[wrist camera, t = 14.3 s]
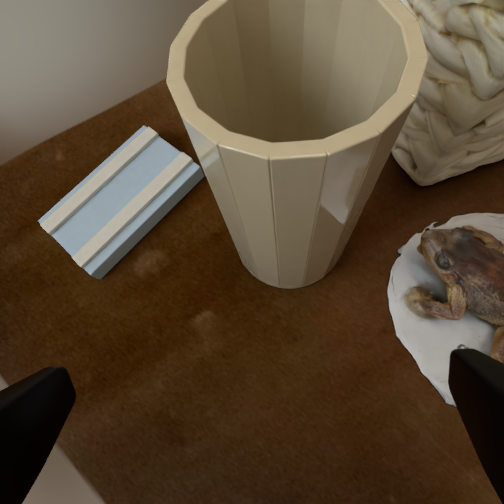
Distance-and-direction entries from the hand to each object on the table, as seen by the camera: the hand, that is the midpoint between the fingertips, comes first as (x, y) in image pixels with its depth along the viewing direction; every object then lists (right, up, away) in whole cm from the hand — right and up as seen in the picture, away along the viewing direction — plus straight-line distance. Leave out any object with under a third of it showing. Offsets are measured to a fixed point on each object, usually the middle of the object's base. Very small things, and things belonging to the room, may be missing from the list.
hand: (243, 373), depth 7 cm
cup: (+3, +4, +13) cm, 14 cm away
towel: (-9, +6, +15) cm, 19 cm away
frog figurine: (+14, 0, +11) cm, 17 cm away
